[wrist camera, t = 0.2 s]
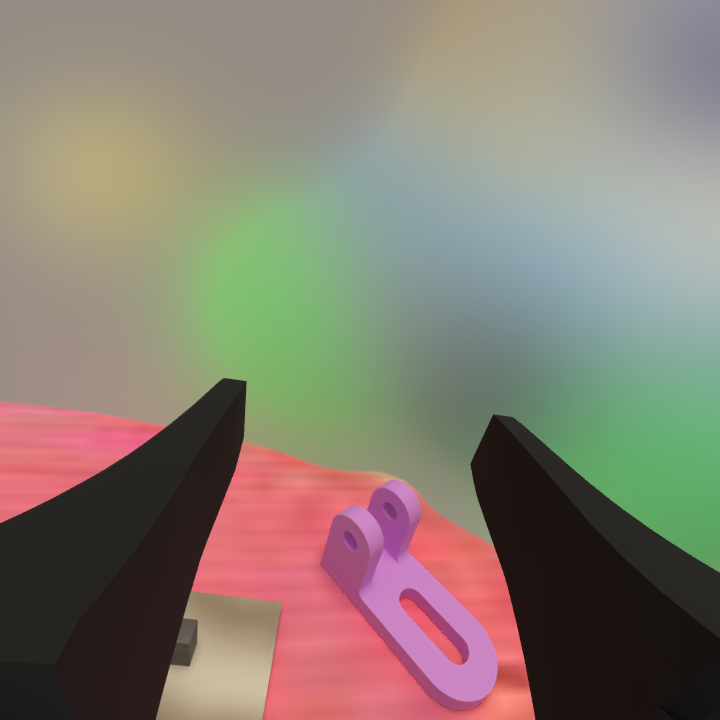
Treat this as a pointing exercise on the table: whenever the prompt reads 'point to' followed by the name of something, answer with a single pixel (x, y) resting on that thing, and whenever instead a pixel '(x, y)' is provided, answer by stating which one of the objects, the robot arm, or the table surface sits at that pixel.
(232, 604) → the beige board with pegs
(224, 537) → the table surface
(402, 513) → the bracket
